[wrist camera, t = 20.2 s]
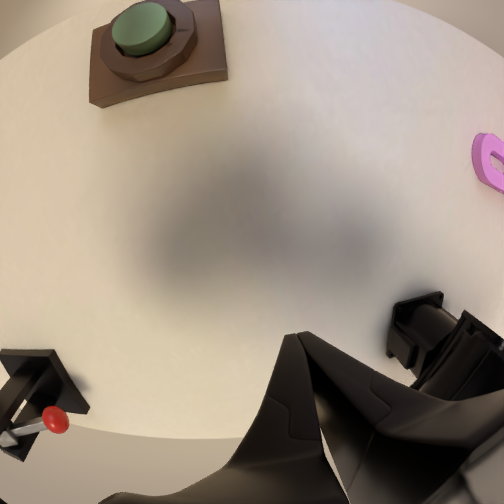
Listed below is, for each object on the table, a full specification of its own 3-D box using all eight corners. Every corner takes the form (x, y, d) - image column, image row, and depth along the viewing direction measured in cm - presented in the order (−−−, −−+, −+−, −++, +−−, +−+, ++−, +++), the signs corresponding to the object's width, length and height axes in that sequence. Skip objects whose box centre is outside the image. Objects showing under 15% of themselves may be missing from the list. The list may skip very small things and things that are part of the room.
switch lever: (58, 397, 19) (58, 415, 16) (73, 417, 19) (75, 435, 17) (-9, 416, 13) (-13, 433, 11) (7, 434, 14) (4, 451, 12)
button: (171, 9, 12) (166, -4, 10) (173, 48, 13) (167, 36, 11) (121, 23, 12) (113, 12, 10) (120, 62, 13) (109, 53, 11)
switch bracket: (54, 349, 22) (-2, 423, 10) (90, 407, 25) (57, 482, 13) (1, 349, 22) (-45, 401, 10) (33, 399, 24) (-1, 455, 13)
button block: (219, 11, 15) (217, -17, 11) (227, 80, 17) (226, 59, 13) (103, 39, 14) (82, 20, 11) (101, 108, 16) (76, 97, 13)
